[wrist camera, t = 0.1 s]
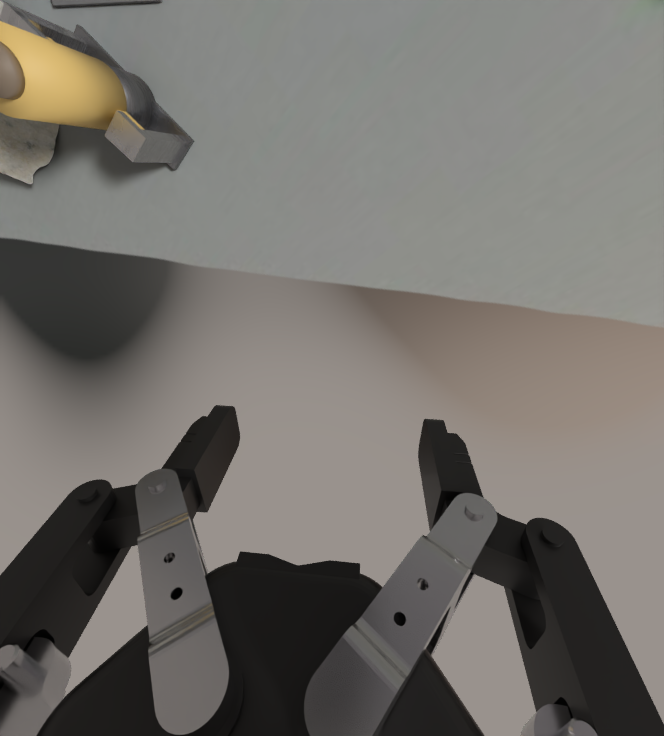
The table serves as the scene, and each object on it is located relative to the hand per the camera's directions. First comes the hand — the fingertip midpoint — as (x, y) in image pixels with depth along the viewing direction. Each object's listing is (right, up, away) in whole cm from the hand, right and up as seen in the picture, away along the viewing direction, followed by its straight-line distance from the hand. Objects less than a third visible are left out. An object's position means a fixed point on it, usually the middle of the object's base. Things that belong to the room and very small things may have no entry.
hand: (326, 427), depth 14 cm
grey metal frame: (-20, +29, +19) cm, 40 cm away
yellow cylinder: (-20, +26, +15) cm, 36 cm away
